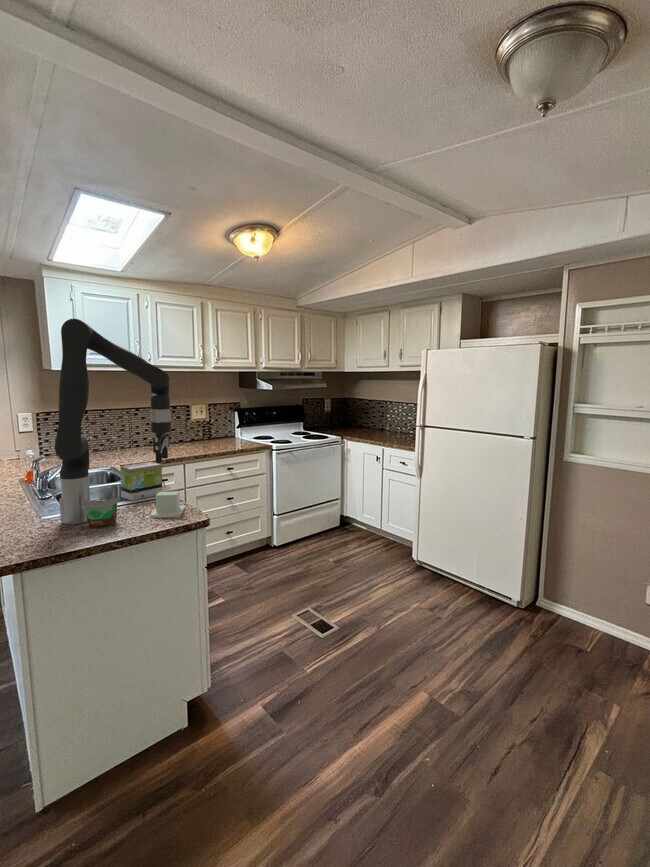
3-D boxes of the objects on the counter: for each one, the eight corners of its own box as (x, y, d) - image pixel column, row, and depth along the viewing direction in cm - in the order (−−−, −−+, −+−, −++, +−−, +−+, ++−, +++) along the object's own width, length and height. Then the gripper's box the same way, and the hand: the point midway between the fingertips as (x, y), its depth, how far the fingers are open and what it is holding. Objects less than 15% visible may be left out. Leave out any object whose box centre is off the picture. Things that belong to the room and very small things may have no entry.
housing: (156, 512, 164) (155, 495, 163) (159, 508, 169) (159, 491, 168) (177, 511, 165) (176, 494, 164) (179, 507, 170) (179, 491, 169)
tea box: (132, 501, 181) (130, 469, 179) (121, 497, 187) (119, 466, 185) (163, 494, 193) (162, 463, 191) (151, 490, 199) (150, 460, 197)
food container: (79, 530, 147) (77, 503, 146) (84, 524, 153) (82, 498, 152) (116, 527, 150) (115, 501, 149) (120, 521, 156) (118, 496, 155)
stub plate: (150, 517, 161) (149, 508, 160) (158, 509, 172) (157, 500, 171) (179, 517, 162) (178, 508, 162) (185, 508, 173) (185, 499, 172)
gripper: (156, 418, 169) (157, 457, 172) (145, 422, 155) (146, 464, 158) (175, 418, 170) (176, 457, 172) (165, 422, 156) (166, 464, 158)
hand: (162, 460), depth 165 cm, fingers open, 8 cm apart
